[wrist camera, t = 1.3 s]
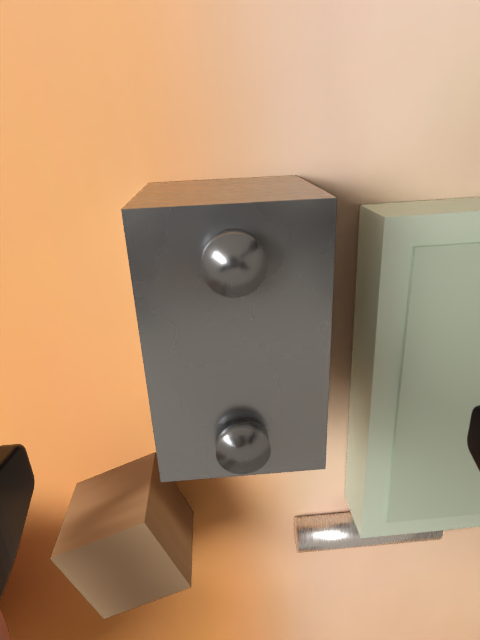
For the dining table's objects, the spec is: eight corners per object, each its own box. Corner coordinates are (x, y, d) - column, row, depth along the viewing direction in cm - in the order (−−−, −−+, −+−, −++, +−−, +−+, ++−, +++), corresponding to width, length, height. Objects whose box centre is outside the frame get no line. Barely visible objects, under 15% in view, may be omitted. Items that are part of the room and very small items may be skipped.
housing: (295, 174, 16) (343, 201, 10) (294, 378, 19) (330, 482, 14) (149, 182, 16) (116, 213, 10) (172, 387, 19) (158, 496, 13)
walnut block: (155, 451, 20) (144, 522, 17) (193, 510, 22) (191, 587, 18) (77, 482, 21) (50, 558, 17) (120, 538, 22) (103, 619, 19)
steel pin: (425, 499, 23) (440, 511, 22) (429, 531, 23) (444, 545, 22) (292, 512, 23) (297, 524, 21) (294, 544, 23) (300, 559, 21)
